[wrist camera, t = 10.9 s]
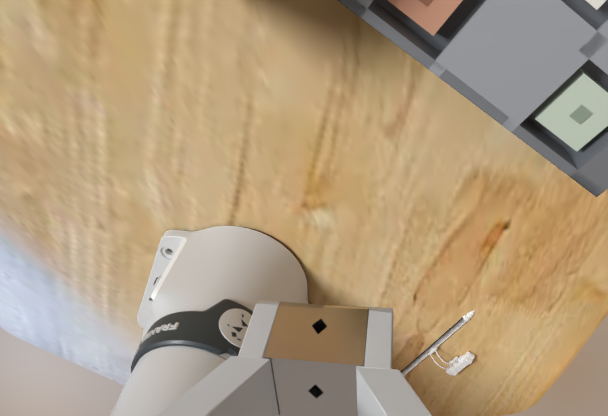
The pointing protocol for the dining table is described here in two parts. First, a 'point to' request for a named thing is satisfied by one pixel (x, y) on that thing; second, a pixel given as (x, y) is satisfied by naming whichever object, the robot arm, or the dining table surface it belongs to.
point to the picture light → (455, 363)
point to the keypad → (512, 64)
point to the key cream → (595, 3)
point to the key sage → (575, 110)
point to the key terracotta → (427, 12)
